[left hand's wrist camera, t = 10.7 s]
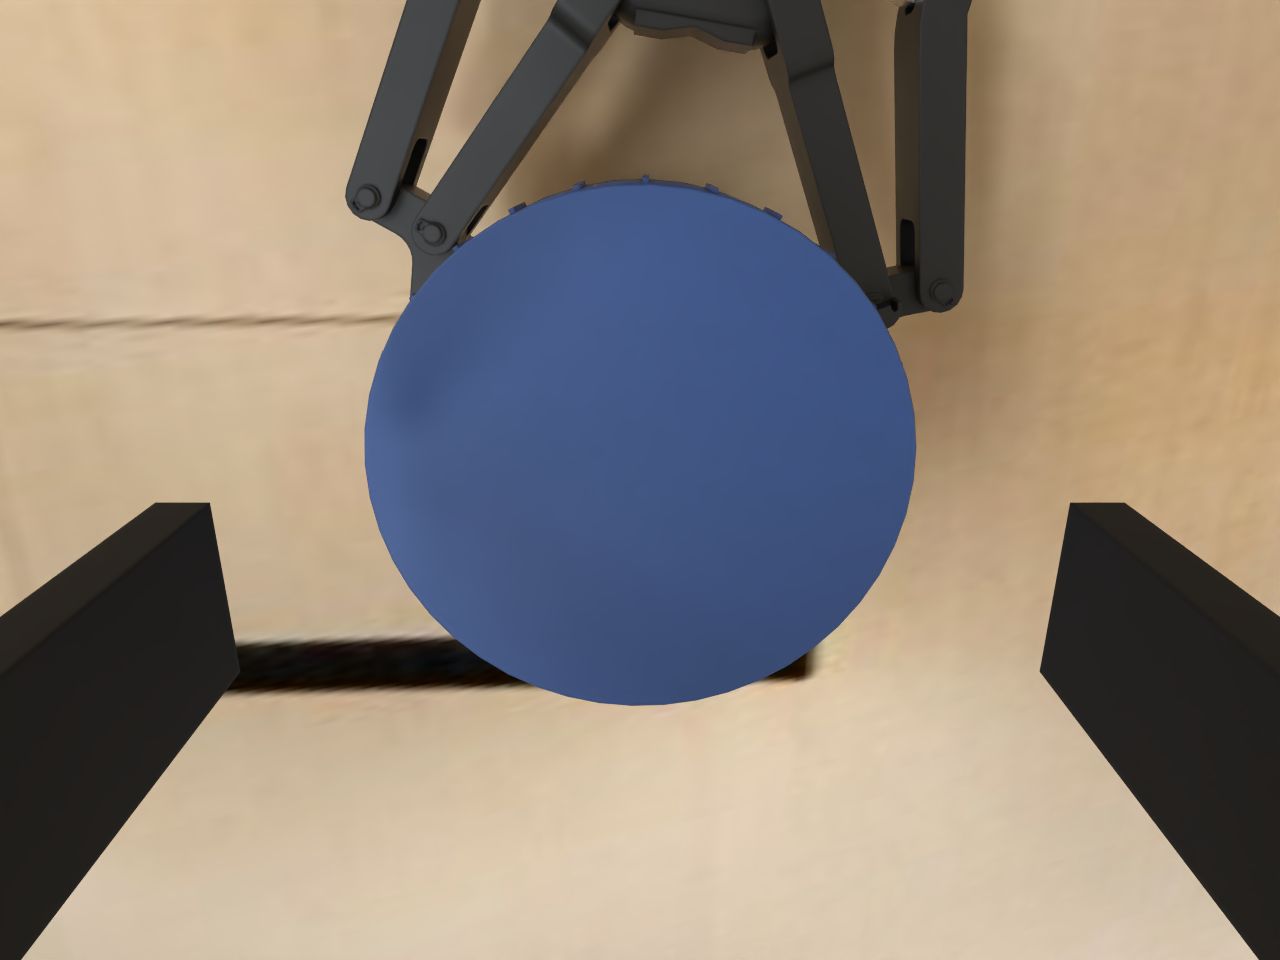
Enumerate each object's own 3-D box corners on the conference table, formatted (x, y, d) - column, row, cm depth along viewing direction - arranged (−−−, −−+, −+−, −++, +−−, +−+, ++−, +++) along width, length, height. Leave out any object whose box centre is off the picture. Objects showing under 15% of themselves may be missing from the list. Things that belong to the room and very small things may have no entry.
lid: (706, 55, 17) (716, 42, 15) (978, 489, 20) (1020, 532, 18) (288, 379, 19) (242, 409, 17) (590, 725, 22) (584, 790, 20)
